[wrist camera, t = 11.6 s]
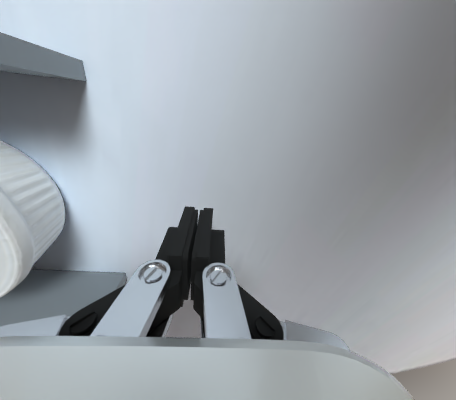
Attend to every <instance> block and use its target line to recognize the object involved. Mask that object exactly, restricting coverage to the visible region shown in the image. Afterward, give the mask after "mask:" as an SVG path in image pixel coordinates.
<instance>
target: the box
mask: <svg viewBox="0 0 456 400" xmlns="http://www.w3.org/2000/svg"><path fill="white" fill-rule="evenodd" d="M0 71H5V72H13V73H22V74H30V75H38V76H47V77H55V78H63V79H71V80H80V81H86V78H85V73H84V68H83V63H82V61H81V60H79V59H76V58H73V57H70V56H67V55H64V54H61V53H58V52H55V51H53V50H50V49H47V48H44V47H41V46H38V45H35V44H32V43H30V42H27V41H24V40H21V39H18V38H15V37H12V36H9V35H7V34H4V33H1V32H0ZM126 280H127V279H126V275H125V273H112V272H83V271H55V270H30V272H29V273H28V275H27V276H26V278H25V279H24V280H23V281H22V282H21V283H20V284H18V285H17V286H16V287H15V288H14V289H12V290H11V291H10V292H9V293H7V294H6V295H4V296H2V297H0V327H1V326H4V325H10V324H15V323H21V322H26V321H32V320H37V319H43V318H48V317H54V316H59V315H65V314H66V316H67V317H69V316H72V315H73V314H74V313H76V312H77V311H79V310H80V309H82V308H84V307H86V306H88V305H89V304H91V303H93V302H95V301H97V300H98V299H100V298H102V297H104V296H106V295H107V294H109V293H111V292H113V291H115V290H116V289H118V288H120V287H122V286H123V285H124V284H125V282H126Z"/></svg>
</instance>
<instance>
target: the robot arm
mask: <svg viewBox="0 0 456 400" xmlns="http://www.w3.org/2000/svg"><path fill="white" fill-rule="evenodd" d="M212 216H213V208H204V210H200V215H199V220H198V210H195V208H194V207H185V208H184V211H183V214H182V217H181V220H180V223H179V226H178V228H177V227H169V228H168V230H167V233H166V235H165V238H164V240H163V242H162V245H161V247H160V250H159V252H158V254H157V257H156V259H155V260H150V261H147V262H145V263H143V264H142V265H140V266H139V268H138V269H137V270H136V271H135V273H134V274H133V275H132V277H131V278H130V280H129V281H128V283H127V284H125V285H123V286H122V287H120V288H118V289H116V290H115V291H113V292H111V293H109V294H107V295H106V296H104V297H102V298H100V299H98V300H97V301H95V302H93V303H91V304H89V305H88V306H86V307H84V308H82V309H80V310H79V311H77V312H76V313H74V314H73V315H72V316H69V317H67V316H66V314H65V315H59V316H54V317H48V318H43V319H37V320H32V321H26V322H21V323H15V324H10V325H4V326H1V327H0V400H414V398H413V397H412V396H411V395H410V393H409V392H408V391H407V390H406V389H405V388H404V387H403V385H402V384H401V383H400V382H399V381H398V380H397V379H396V378H395V377H393V376H392V375H391V374H390V373H388V372H387V371H386V370H385V369H383V368H382V367H380V366H378V365H377V364H375V363H373V362H372V361H370V360H368V359H366V358H364V357H362V356H360V355H358V354H356V353H353V352H351V351H350V350H349V348H348V346H347V345H346V344H345V342H344V341H343V340H342V339H341V338H339V337H338V336H337V335H335V334H333V333H331V332H327V331H324V330H320V329H316V328H313V327H309V326H305V325H302V324H298V323H294V322H291V321H287V320H285V322H281V321H279V320H278V319H277V318H276V317H275V316H274V315H273V314H272V313H271V312H269V311H268V310H267V309H266V308H265V307H264V306H262V305H261V304H260V303H259V302H258V301H257V300H255V299H254V298H253V297H252V296H251V295H250V294H248V293H247V292H246V291H245V290H244V289H243V288H241V287H240V286H239V285H238V284H237V281H236V277H235V273H234V271H233V269H232V268H231V267H230V266H228V265H226V264H225V241H224V230H211V229H212ZM197 222H198V225H197ZM190 284H191V300H194V305H193V308H194V310H195V311H196V312H197V313H198V314H199V316H200V330H201V338H173V337H165V336H166V334H167V331H168V328H169V326H170V323H171V320H172V317H173V313H174V312H175V311H177V310H178V309H179V308H180V307H183V301H184V300H188V295H189V289H190Z"/></svg>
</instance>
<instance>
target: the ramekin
mask: <svg viewBox="0 0 456 400" xmlns="http://www.w3.org/2000/svg"><path fill="white" fill-rule="evenodd" d="M64 223H65V207H64V201H63V198H62V195H61V193H60V191H59V189H58V187H57V186H56V184H55V182H54V181H53V180H52V178H51V177H50V176H49V175H48V174H47V172H46V171H45V170H44V169H43V168H42V167H41V166H40V165H38V164H37V163H36V162H35V161H34V160H32V159H31V158H30V157H29V156H27V155H26V154H24V153H23V152H21V151H20V150H18V149H16V148H14V147H13V146H11V145H9V144H7V143H5V142H3V141H1V140H0V297H2V296H4V295H6V294H7V293H9V292H10V291H11V290H12V289H14V288H15V287H16V286H17V285H18V284H20V283H21V282H22V281H23V280H24V279H25V278H26V276H27V275H28V273H29V272H30V270H31V268H32V266H33V264H34V263H35V262H36V261H37V260H38V259H39V258H40V257H41V256H42V254H43V253H44V252H45V251H46V250H47V249H48V248H49V247H50V245H51V244H52V243H53V242H54V241H55V240H56V239H57V237H58V236H59V235H60V233H61V231H62V229H63V227H64Z"/></svg>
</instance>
